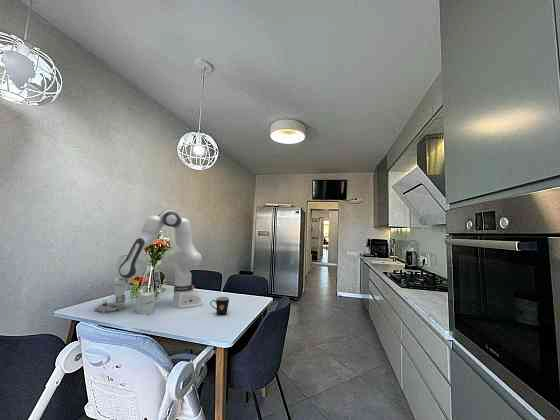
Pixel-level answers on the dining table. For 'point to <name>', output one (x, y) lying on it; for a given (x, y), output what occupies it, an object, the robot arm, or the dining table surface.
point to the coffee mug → (221, 305)
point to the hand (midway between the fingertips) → (120, 300)
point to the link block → (122, 299)
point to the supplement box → (145, 303)
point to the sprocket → (110, 307)
